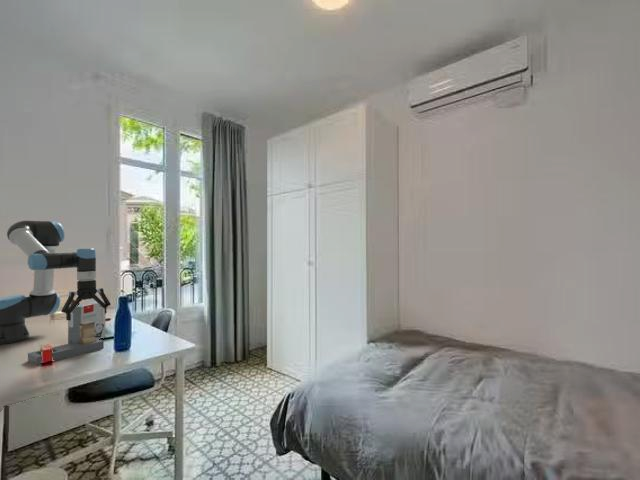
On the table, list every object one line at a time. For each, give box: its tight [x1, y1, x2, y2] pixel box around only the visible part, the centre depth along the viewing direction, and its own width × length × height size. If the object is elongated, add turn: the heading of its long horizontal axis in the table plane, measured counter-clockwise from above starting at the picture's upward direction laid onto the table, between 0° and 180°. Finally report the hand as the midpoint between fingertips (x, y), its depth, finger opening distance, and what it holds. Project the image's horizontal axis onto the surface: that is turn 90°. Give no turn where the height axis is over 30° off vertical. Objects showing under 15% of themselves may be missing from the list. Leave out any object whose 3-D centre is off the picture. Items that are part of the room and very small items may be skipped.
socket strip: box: [27, 338, 105, 366], centre depth 152 cm, size 10×26×4 cm, turn 148°
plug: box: [79, 321, 95, 345], centre depth 159 cm, size 5×5×13 cm
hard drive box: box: [67, 300, 106, 344], centre depth 171 cm, size 16×8×20 cm, turn 168°
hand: (87, 323), depth 159 cm, fingers open, 13 cm apart
